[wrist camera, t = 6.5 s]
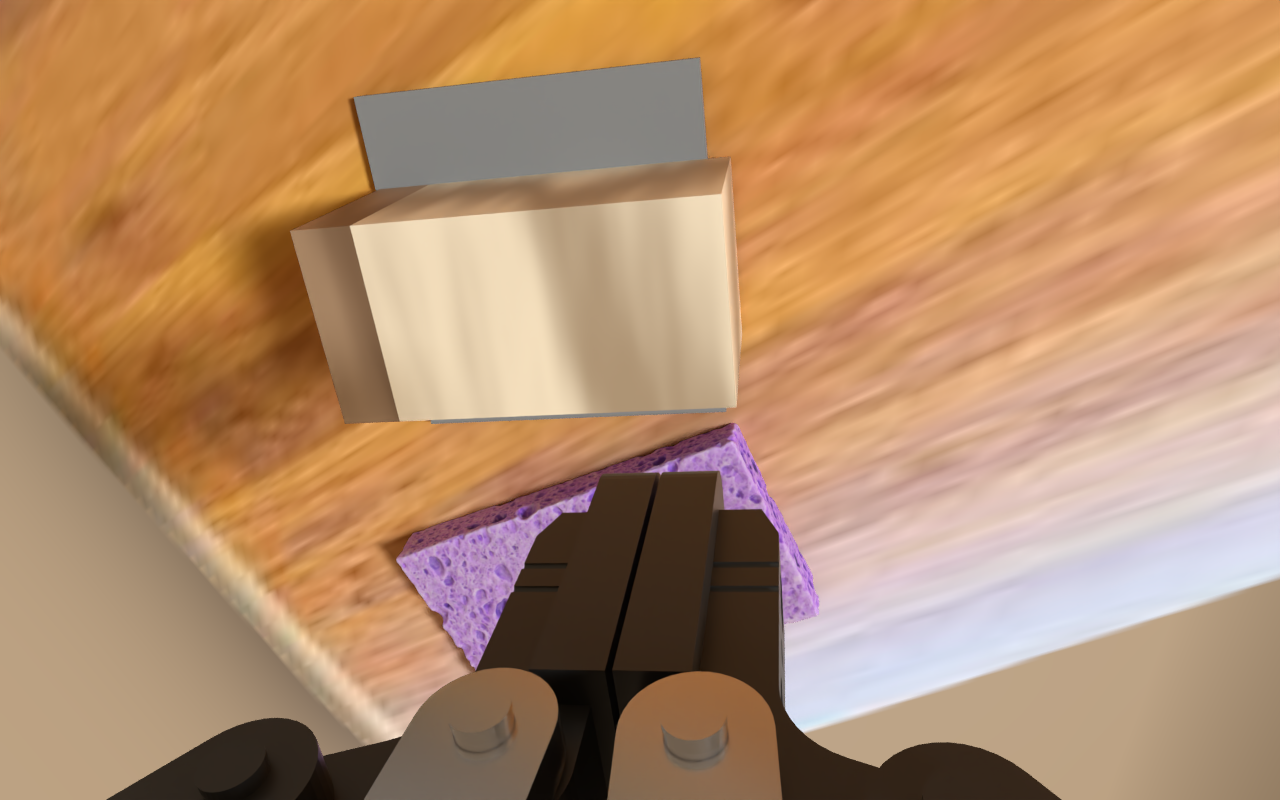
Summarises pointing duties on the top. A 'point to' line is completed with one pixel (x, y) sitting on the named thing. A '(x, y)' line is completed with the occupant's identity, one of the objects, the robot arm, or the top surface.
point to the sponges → (503, 535)
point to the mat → (537, 134)
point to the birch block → (531, 294)
